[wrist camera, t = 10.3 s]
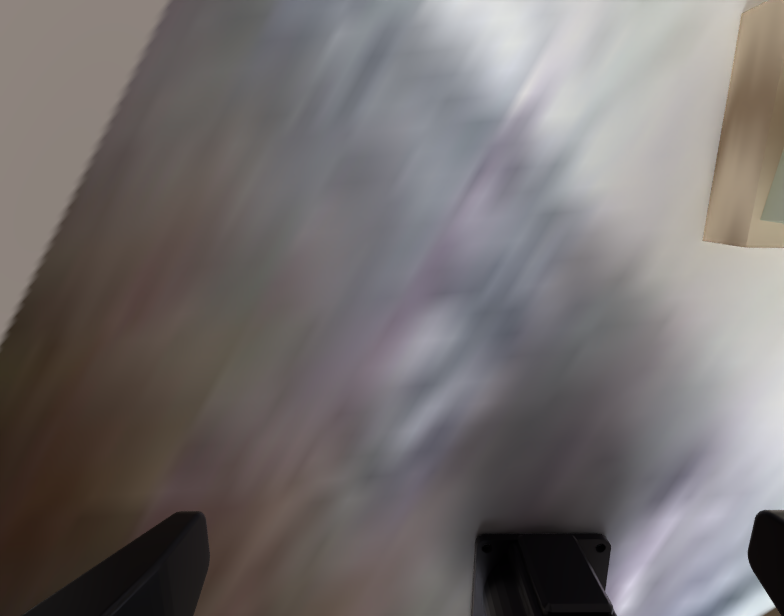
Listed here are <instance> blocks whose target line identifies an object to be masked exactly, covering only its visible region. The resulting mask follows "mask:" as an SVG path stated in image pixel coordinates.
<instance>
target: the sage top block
mask: <svg viewBox="0 0 784 616" xmlns="http://www.w3.org/2000/svg"><path fill="white" fill-rule="evenodd" d="M760 220H763V221H769V222H776V223H783V224H784V149H783V152H782V155H781V158H780V161H779V164H778V167H777V170H776V173H775V176H774V179H773V182H772V185H771V188H770V191H769V194H768V197H767V200H766V204H765V207H764V210H763V213H762V216H761V219H760Z"/></svg>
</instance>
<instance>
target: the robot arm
mask: <svg viewBox="0 0 784 616" xmlns="http://www.w3.org/2000/svg"><path fill="white" fill-rule="evenodd" d="M485 544H489V546H487V547H483V546H484V545H485ZM598 544H601V545H600V546H597V545H598ZM596 546H597V547H596ZM610 551H611V545H610V543H609V542H608V540H607V538H606V537H605V536H604V535H603V534H598V533H585V534H482V535H480V536H479V537H478V538H477V539H476V542H475V559H474V578H473V598H472V616H617V615H616V613H615V611H614V609H613V605H612V604H611V602H610V600H609V598H608V596H607V594H606V592H605V588H606V580H607V573H608V566H609V558H610ZM748 560H749V563H750V566H751V568H752V570H753V572H754V573H755V575H756V576H757V578H758V580H759V581H760V583H761V584H762V586H763V587H764V589H765V591H766V592H767V594H768V595H769V597H770V598H771V600H772V602H773V603H774V605H775V606H776V608H777V609H778V611H779V613H780V614H781V616H784V510H763V511H760V512H759V513H758V514H757V515H756V517H755V521H754V525H753V530H752V534H751V538H750V543H749V547H748ZM209 561H210V552H209V543H208V534H207V525H206V518H205V516H204V514H203V513H202V512H199V511H181V512H176V513H175V514H173V515H171V516H170V517H168V518H167V519H165V520H164V521H162V522H161V523H159V524H158V525H156V526H155V527H153V528H152V529H150V530H149V531H147V532H146V533H144V534H143V535H141V536H140V537H138V538H137V539H135V540H134V541H132V542H131V543H129V544H128V545H126V546H125V547H123V548H122V549H120V550H119V551H117V552H116V553H114V554H113V555H111V556H110V557H108V558H107V559H105V560H104V561H102V562H101V563H99V564H98V565H96V566H95V567H93V568H92V569H90V570H89V571H87V572H86V573H84V574H83V575H81V576H80V577H78V578H77V579H75V580H74V581H72V582H71V583H69V584H68V585H66V586H65V587H63V588H62V589H60V590H59V591H57V592H56V593H55V594H53V595H52V596H50V597H49V598H47V599H46V600H44V601H43V602H41V603H40V604H38V605H37V606H35V607H34V608H32V609H31V610H29V611H28V612H26V613H25V614H23V615H22V616H193V615H194V612H195V609H196V606H197V603H198V599H199V596H200V593H201V590H202V587H203V584H204V581H205V577H206V574H207V571H208V567H209Z"/></svg>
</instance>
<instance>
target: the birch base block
mask: <svg viewBox="0 0 784 616" xmlns="http://www.w3.org/2000/svg"><path fill="white" fill-rule="evenodd" d="M783 149H784V0H768V1H766V2H764V3H762V4H760V5H758V6H756V7H754V8H752V9H750V10H748V11H746V12H744V13H742V14H741V20H740V26H739V32H738V38H737V44H736V49H735V55H734V61H733V67H732V73H731V78H730V84H729V90H728V96H727V102H726V107H725V113H724V119H723V125H722V131H721V137H720V142H719V148H718V154H717V160H716V166H715V171H714V177H713V183H712V189H711V195H710V200H709V206H708V212H707V218H706V224H705V230H704V235H703V241H707V242H714V243H720V244H726V245H733V246H739V247H746V248H784V224H783V223H776V222H769V221H763V220H760V219H761V216H762V213H763V210H764V207H765V204H766V200H767V197H768V194H769V191H770V188H771V185H772V182H773V179H774V176H775V173H776V170H777V167H778V164H779V161H780V158H781V155H782V152H783Z"/></svg>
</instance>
